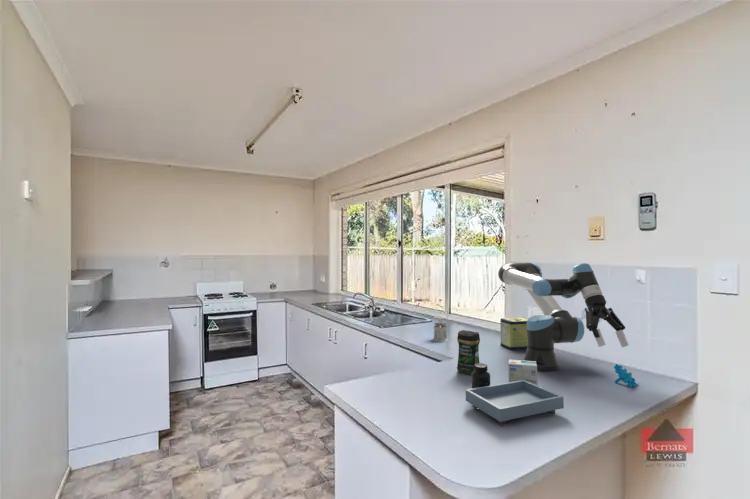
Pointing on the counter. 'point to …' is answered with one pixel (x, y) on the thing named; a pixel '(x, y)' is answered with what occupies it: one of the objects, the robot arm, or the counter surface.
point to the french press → (440, 329)
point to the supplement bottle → (480, 376)
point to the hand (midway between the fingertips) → (614, 346)
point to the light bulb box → (522, 371)
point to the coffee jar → (468, 351)
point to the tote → (514, 400)
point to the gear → (624, 376)
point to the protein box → (514, 333)
